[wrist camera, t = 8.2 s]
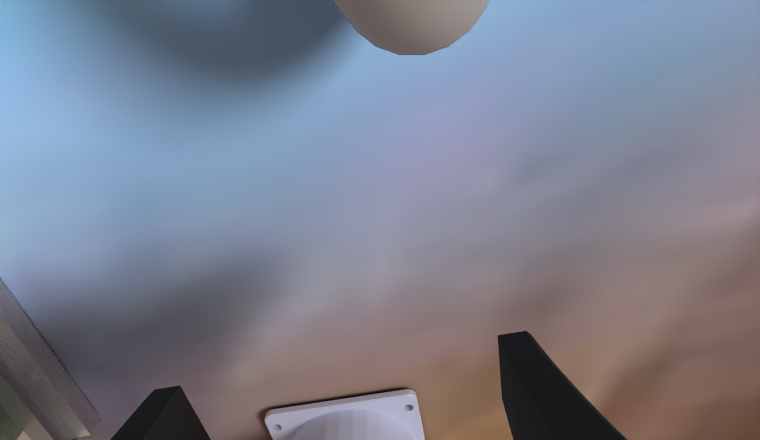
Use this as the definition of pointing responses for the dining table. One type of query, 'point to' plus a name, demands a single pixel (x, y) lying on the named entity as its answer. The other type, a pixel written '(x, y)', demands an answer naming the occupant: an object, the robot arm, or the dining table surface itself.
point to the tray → (36, 384)
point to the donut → (412, 22)
